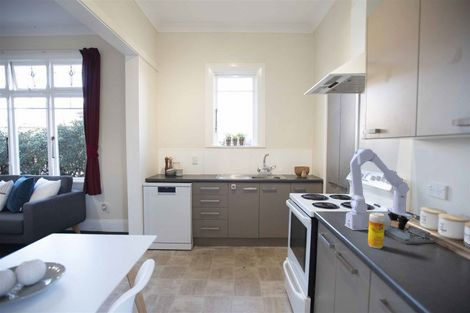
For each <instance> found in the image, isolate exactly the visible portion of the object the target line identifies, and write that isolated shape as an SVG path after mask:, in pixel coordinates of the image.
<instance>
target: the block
mask: <svg viewBox="0 0 470 313" xmlns="http://www.w3.org/2000/svg"><path fill="white" fill-rule="evenodd" d="M390 226H393V227H396V228H398V229H399V220H398V219H397V220H393V221H391V220H390ZM403 231H406V227H405V228H404V230H403Z"/></svg>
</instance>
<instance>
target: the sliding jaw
mask: <svg viewBox="0 0 470 313" xmlns="http://www.w3.org/2000/svg"><path fill="white" fill-rule="evenodd" d="M387 228H388V229H387V232H389V233H391V234H393V235H395V236H397V237H399V238H402V239H404V240H409V239H410V233H407V232H405V231H406V230H405V231H403V230H400V229H398V228H396V227H393V226H391V225H390V226H388V227H387Z"/></svg>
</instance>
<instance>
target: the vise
mask: <svg viewBox="0 0 470 313" xmlns="http://www.w3.org/2000/svg"><path fill="white" fill-rule="evenodd" d="M405 232H407V233H410V239H409V240H404V239H402V238H399V237H397V236H395V235H393V234H391V233H389V232H388V231H385V236H388V237H390V238H392V239H394V240H396V241H397V242H400V243H402V244H404V245H415V244H417V245H418V244H432V243H433V244H435V239H434V238H433V237H432V238H431V232H429V231H427V230H424V229H421V228H419V227H417V226H415V225H408V230H405Z"/></svg>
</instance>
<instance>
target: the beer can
mask: <svg viewBox="0 0 470 313" xmlns="http://www.w3.org/2000/svg"><path fill="white" fill-rule="evenodd" d="M385 223H386V217H385V214H384V213H381V212H377V211H376V212H374V211H372V212H370V213H369V219H368V235H367V244H368V245H369V247H371V248H373V249H382V248H383V247H384V242H385V239H384V238H385Z"/></svg>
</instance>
